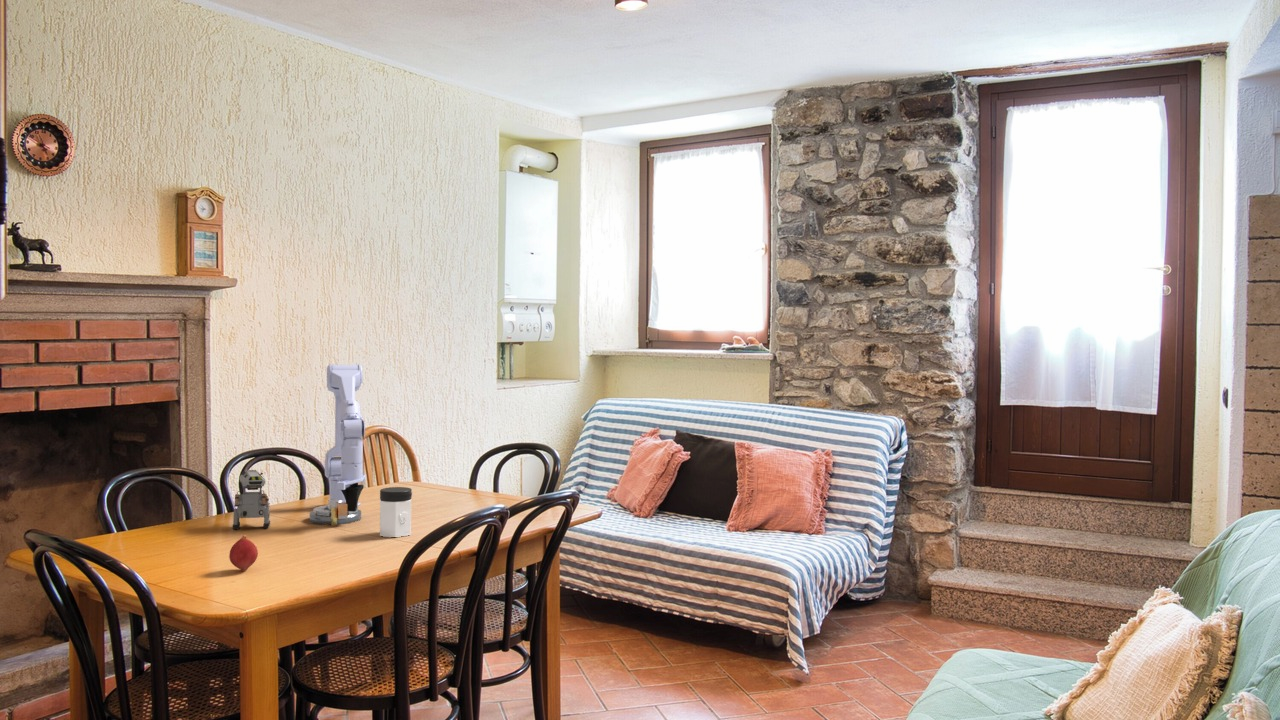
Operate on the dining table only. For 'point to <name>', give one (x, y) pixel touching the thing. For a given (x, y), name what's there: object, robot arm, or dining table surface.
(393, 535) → the jar
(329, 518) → the post base
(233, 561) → the onion
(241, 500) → the figurine
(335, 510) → the dowel pin
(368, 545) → the dining table surface
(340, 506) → the grey handled ring
